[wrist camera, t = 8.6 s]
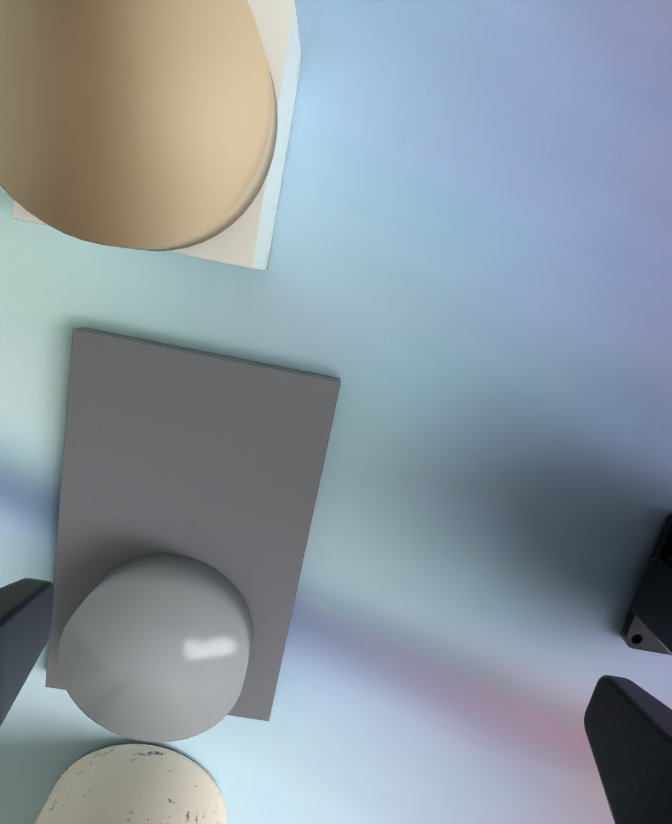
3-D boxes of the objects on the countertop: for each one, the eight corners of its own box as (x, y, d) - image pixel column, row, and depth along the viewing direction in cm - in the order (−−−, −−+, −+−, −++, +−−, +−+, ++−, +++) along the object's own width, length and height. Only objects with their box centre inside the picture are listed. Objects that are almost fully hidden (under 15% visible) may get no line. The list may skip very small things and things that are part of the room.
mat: (340, 378, 20) (340, 382, 20) (270, 706, 24) (268, 721, 24) (82, 327, 20) (73, 329, 19) (54, 673, 24) (45, 686, 23)
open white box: (302, 60, 18) (294, -1, 14) (267, 269, 19) (252, 269, 16) (93, 10, 17) (25, -67, 13) (77, 229, 19) (12, 218, 15)
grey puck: (245, 549, 21) (235, 579, 19) (259, 696, 23) (252, 738, 21) (71, 557, 21) (42, 587, 19) (98, 703, 23) (74, 746, 21)
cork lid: (294, -11, 14) (286, -75, 11) (261, 269, 16) (248, 268, 13) (15, -65, 13) (-58, -144, 11) (14, 228, 15) (-48, 219, 13)
